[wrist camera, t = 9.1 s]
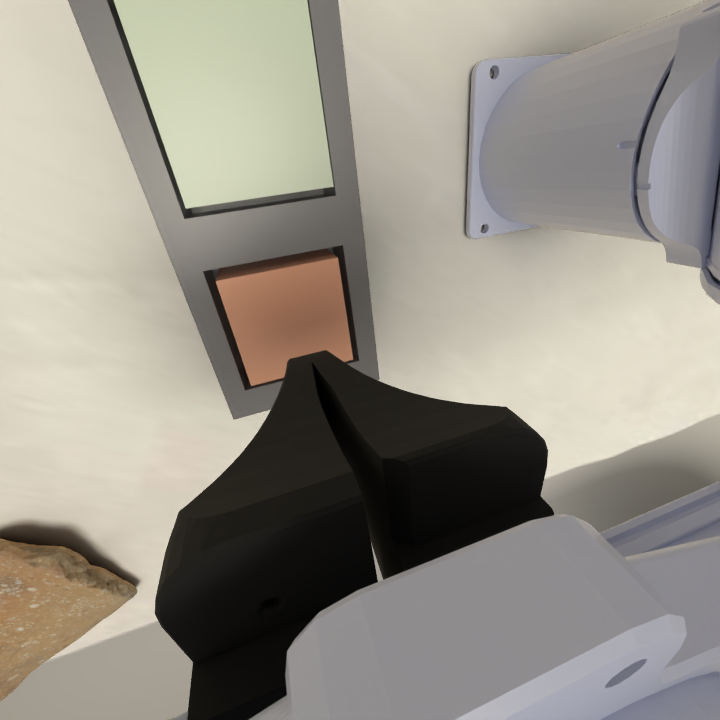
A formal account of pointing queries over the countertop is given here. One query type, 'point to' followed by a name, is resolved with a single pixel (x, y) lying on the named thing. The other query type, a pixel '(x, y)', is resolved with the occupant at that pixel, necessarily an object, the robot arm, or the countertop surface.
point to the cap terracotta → (285, 311)
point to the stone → (49, 604)
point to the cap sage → (232, 95)
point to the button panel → (243, 203)
